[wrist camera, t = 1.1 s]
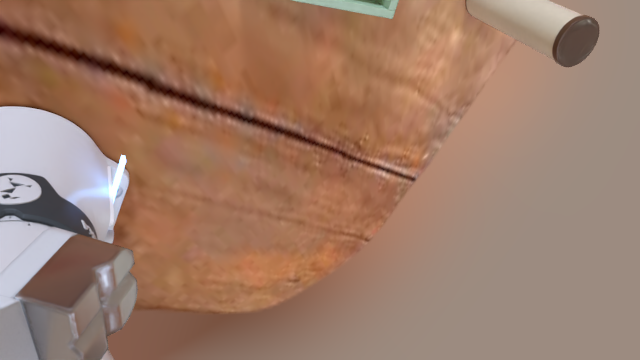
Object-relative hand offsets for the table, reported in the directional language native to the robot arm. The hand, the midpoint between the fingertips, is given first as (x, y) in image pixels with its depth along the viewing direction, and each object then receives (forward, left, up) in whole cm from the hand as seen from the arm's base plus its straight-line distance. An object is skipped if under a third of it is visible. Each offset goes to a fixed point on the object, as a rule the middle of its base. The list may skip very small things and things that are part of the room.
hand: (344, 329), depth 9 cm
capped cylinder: (0, -37, -42) cm, 56 cm away
